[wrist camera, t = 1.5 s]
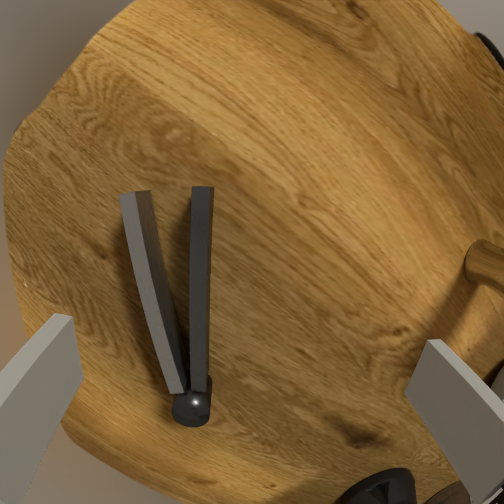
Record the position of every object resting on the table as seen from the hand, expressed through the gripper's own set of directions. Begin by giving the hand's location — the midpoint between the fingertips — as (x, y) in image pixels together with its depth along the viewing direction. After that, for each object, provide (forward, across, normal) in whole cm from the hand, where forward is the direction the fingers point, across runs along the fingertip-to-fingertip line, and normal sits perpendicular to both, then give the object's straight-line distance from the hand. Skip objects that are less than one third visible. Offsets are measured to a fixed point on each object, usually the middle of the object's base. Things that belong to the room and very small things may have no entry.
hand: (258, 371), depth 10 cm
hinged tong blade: (+21, +7, +7) cm, 23 cm away
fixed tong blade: (+21, +4, +8) cm, 23 cm away
